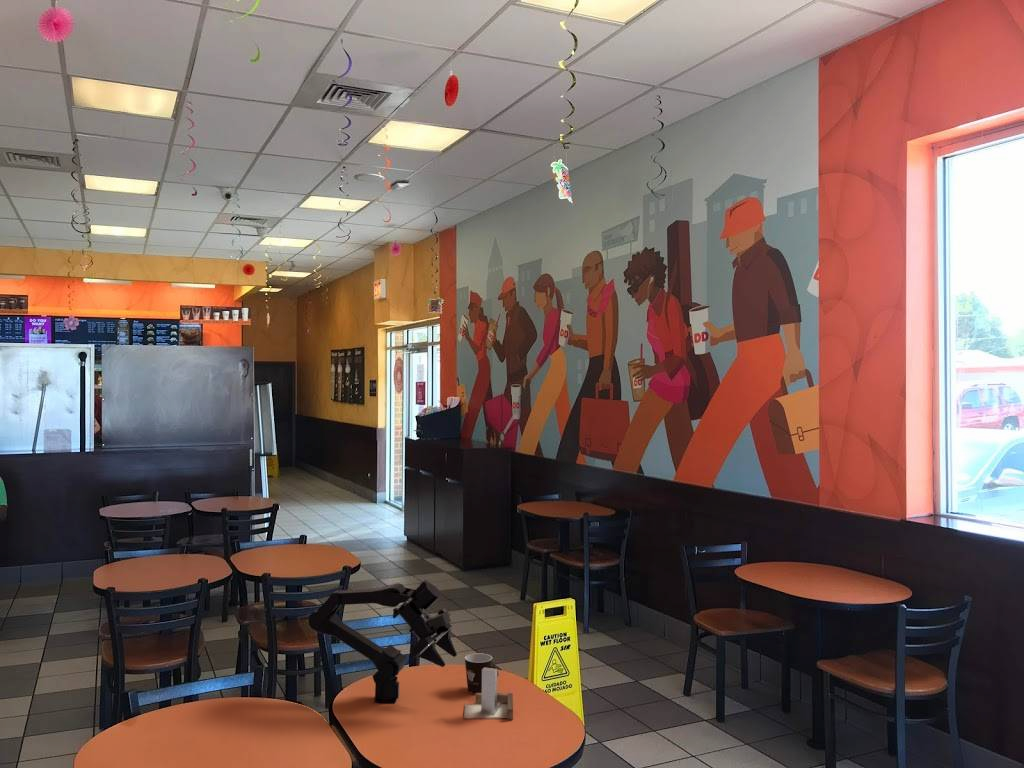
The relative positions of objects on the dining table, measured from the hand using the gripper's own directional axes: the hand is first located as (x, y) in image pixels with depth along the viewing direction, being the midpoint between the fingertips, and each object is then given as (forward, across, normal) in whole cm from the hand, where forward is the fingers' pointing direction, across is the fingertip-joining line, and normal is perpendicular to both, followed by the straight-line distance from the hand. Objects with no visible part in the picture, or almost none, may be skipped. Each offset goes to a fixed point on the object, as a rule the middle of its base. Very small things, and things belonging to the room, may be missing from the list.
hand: (450, 660), depth 236 cm
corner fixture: (+18, +1, +1) cm, 18 cm away
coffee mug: (+13, +14, +7) cm, 20 cm away
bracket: (+18, +1, 0) cm, 18 cm away
